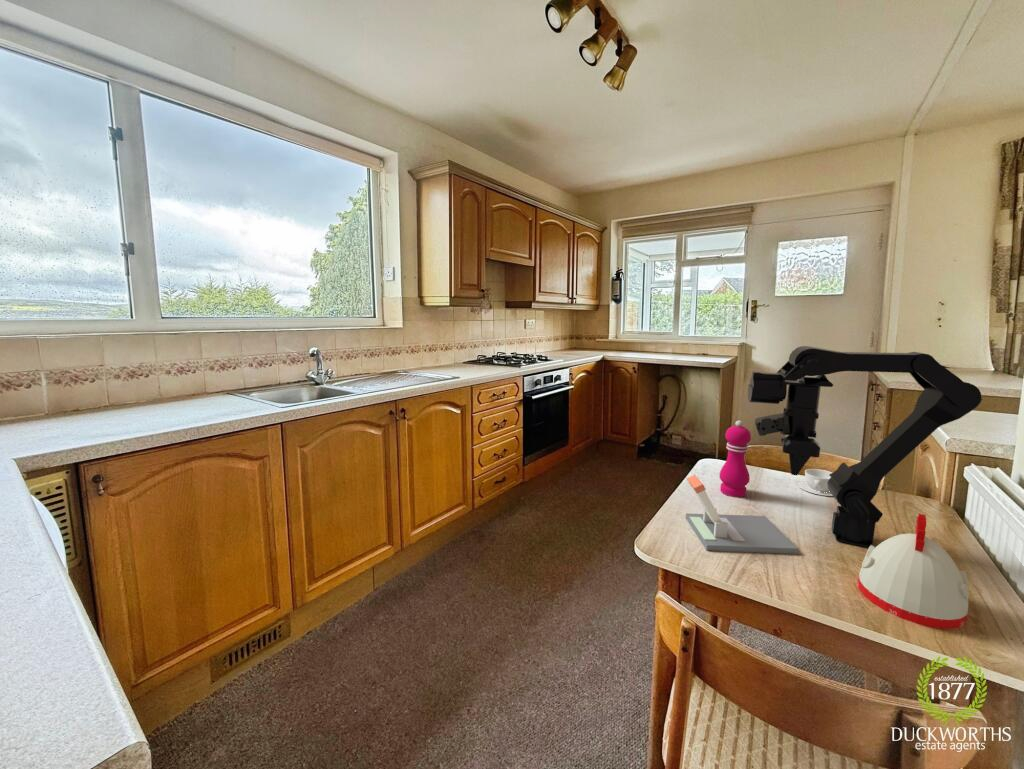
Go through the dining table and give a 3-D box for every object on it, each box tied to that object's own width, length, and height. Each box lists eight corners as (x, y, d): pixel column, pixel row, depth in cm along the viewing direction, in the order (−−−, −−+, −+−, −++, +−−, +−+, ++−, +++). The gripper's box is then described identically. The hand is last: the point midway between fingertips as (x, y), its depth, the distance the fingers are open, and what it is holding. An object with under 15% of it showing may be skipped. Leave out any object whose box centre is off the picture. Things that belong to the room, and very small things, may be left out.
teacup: (802, 479, 127) (804, 464, 127) (844, 489, 120) (847, 473, 120) (793, 490, 120) (795, 473, 120) (838, 501, 113) (840, 484, 113)
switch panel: (764, 520, 103) (766, 503, 102) (797, 553, 89) (800, 533, 88) (685, 518, 104) (686, 500, 104) (706, 550, 91) (708, 530, 90)
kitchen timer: (962, 597, 76) (978, 517, 73) (970, 642, 66) (989, 551, 63) (860, 566, 85) (871, 493, 82) (853, 602, 75) (866, 520, 72)
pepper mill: (745, 500, 114) (752, 425, 110) (715, 493, 118) (721, 421, 114) (750, 491, 119) (757, 419, 116) (721, 484, 124) (727, 415, 120)
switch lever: (714, 510, 99) (694, 474, 98) (723, 521, 94) (702, 484, 93) (705, 514, 99) (686, 478, 98) (714, 525, 94) (694, 488, 93)
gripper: (759, 394, 106) (753, 456, 109) (758, 410, 90) (751, 482, 93) (815, 398, 100) (807, 463, 103) (824, 416, 84) (815, 493, 87)
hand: (793, 474), depth 97 cm, fingers closed
